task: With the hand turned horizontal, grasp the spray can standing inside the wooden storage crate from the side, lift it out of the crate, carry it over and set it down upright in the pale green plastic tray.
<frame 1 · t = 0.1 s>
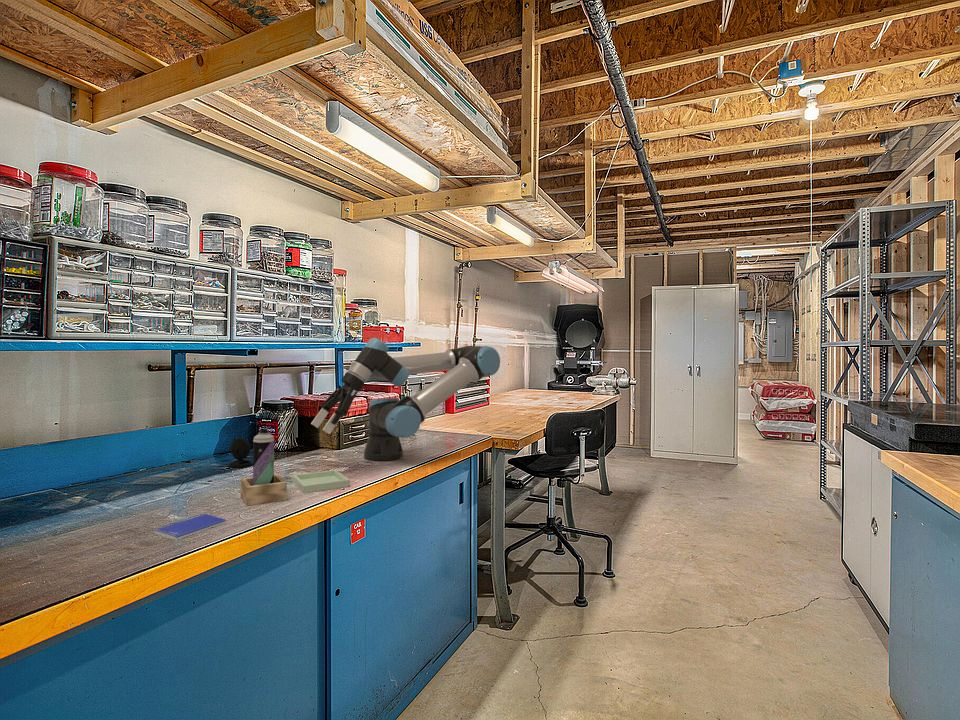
hand: (319, 428, 171), 15 cm above the workbench, tool tilted 35°, fingers open, 13 cm apart
tray: (320, 484, 159), on the workbench
webcam: (240, 466, 179), on the workbench
hard drive: (191, 531, 121), on the workbench
wooden storage crate: (263, 497, 144), on the workbench
spray can: (263, 498, 144), resting in wooden storage crate
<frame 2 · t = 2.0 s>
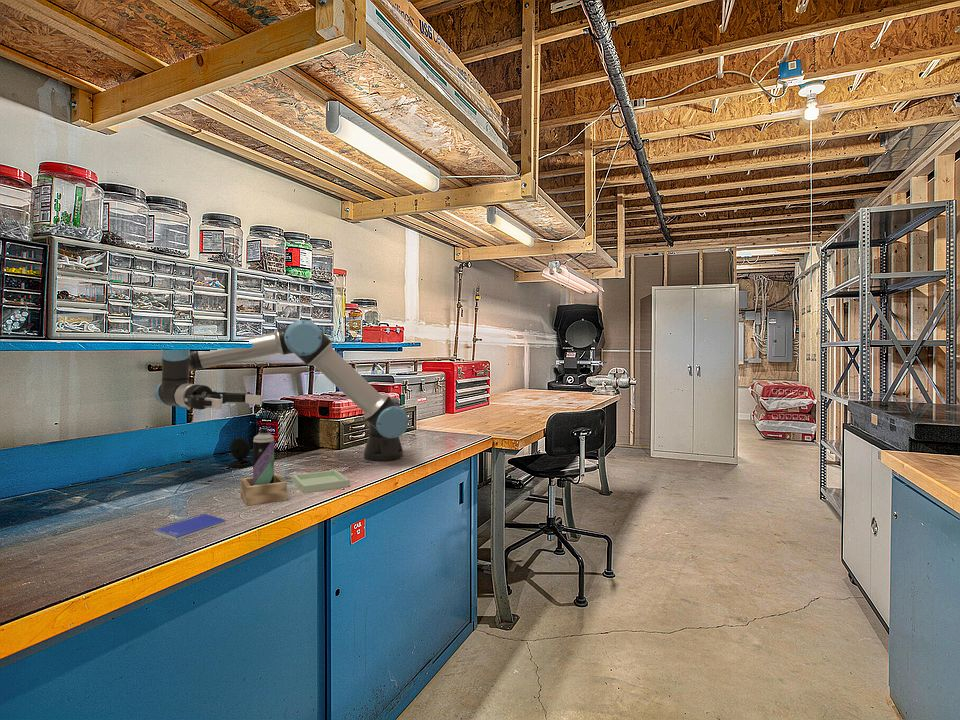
hand: (241, 402, 148), 27 cm above the workbench, tool horizontal, fingers open, 13 cm apart
nothing on the workbench moved.
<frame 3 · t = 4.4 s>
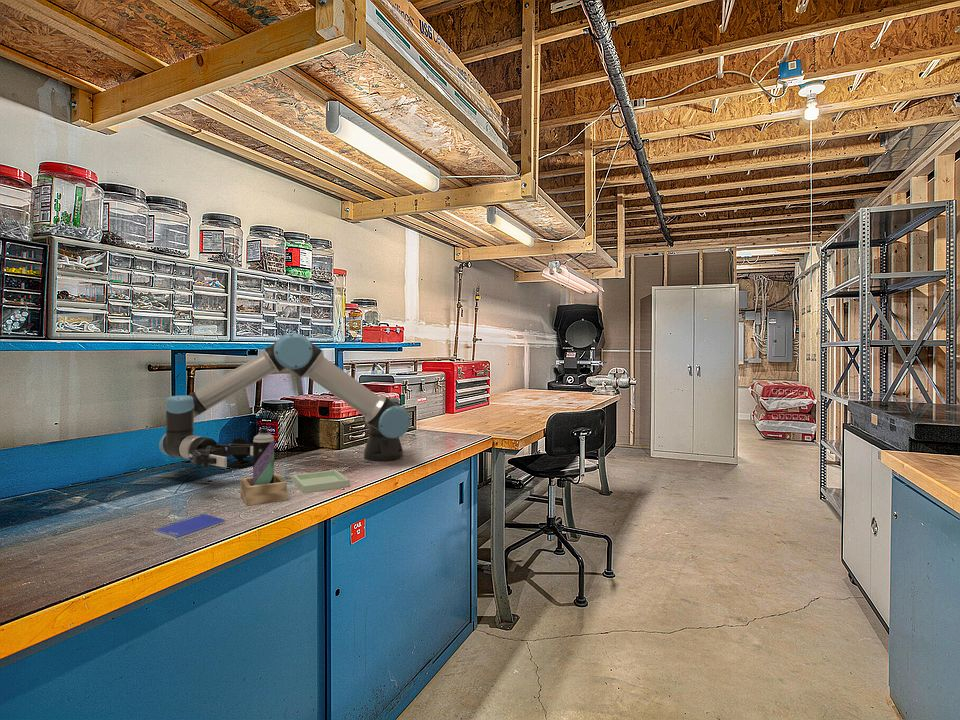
hand: (246, 457, 147), 11 cm above the workbench, tool horizontal, fingers open, 13 cm apart
nothing on the workbench moved.
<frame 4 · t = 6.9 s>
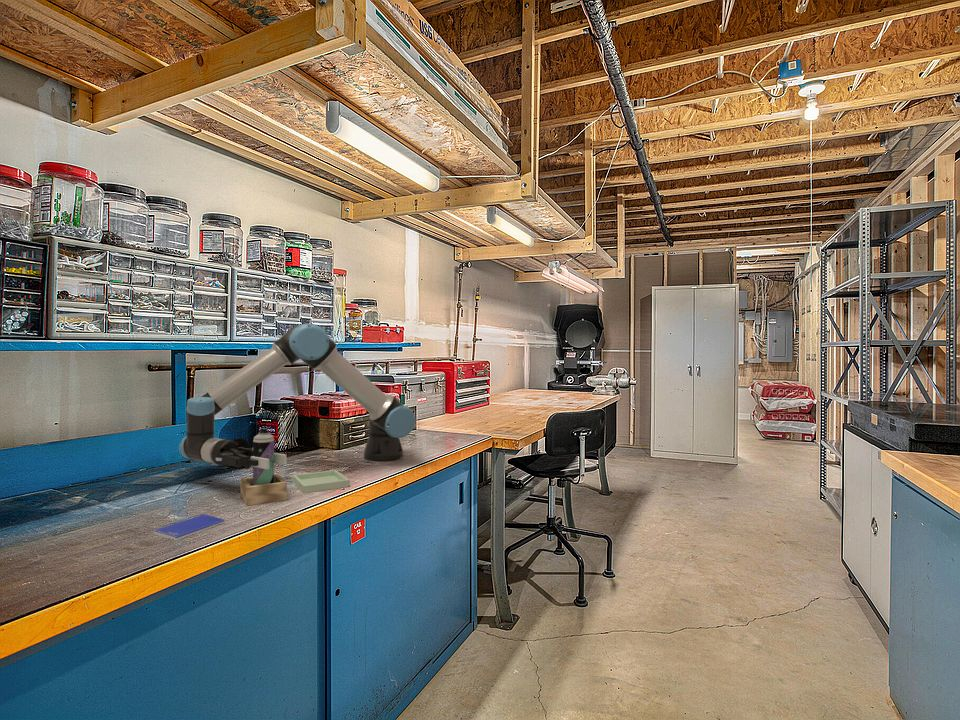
hand: (276, 461, 142), 11 cm above the workbench, tool horizontal, fingers closed on spray can, 5 cm apart
spray can: (263, 498, 144), resting in wooden storage crate, touching gripper
everything else where it was.
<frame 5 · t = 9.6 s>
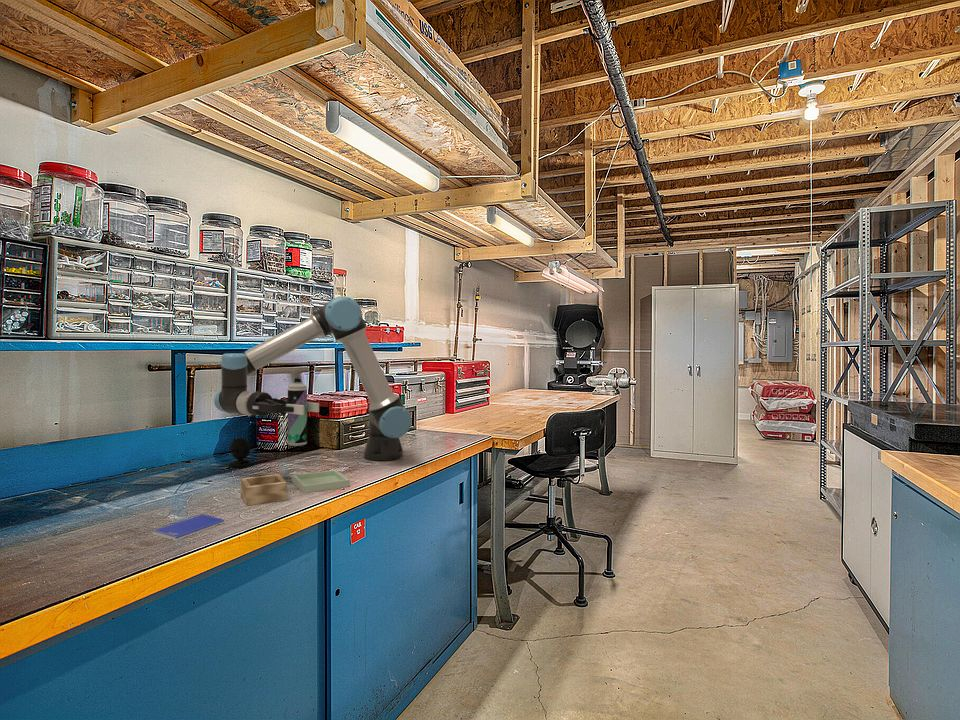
hand: (310, 408, 150), 25 cm above the workbench, tool horizontal, fingers closed on spray can, 5 cm apart
spray can: (297, 444, 153), point 14 cm above the workbench, touching gripper
everything else where it was.
when the fingers open (13 cm above the workbench, at t = 12.7 s): spray can drops 1 cm, resting on tray.
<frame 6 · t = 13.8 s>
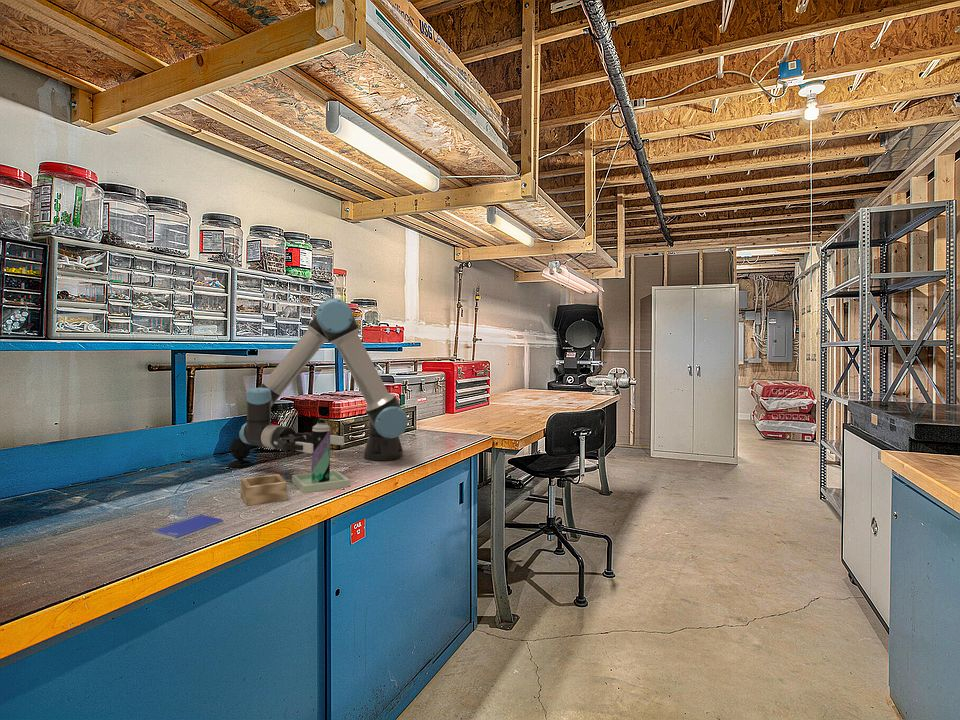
hand: (328, 444, 158), 13 cm above the workbench, tool horizontal, fingers open, 13 cm apart
spray can: (320, 482, 159), resting on tray
everything else where it was.
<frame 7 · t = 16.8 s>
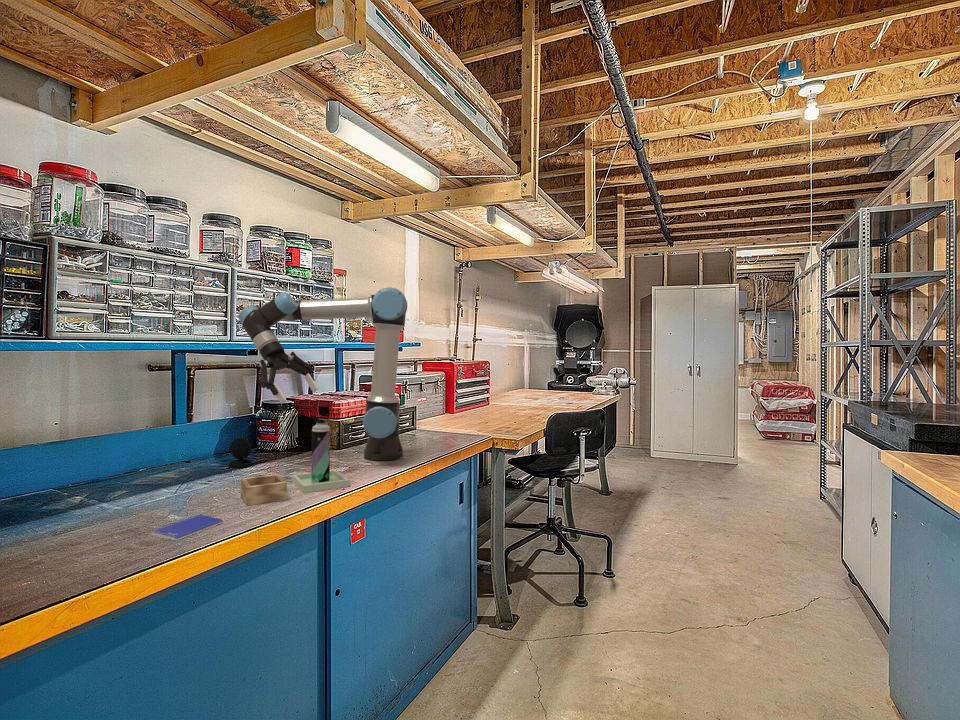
hand: (300, 395, 175), 26 cm above the workbench, tool tilted 40°, fingers open, 13 cm apart
nothing on the workbench moved.
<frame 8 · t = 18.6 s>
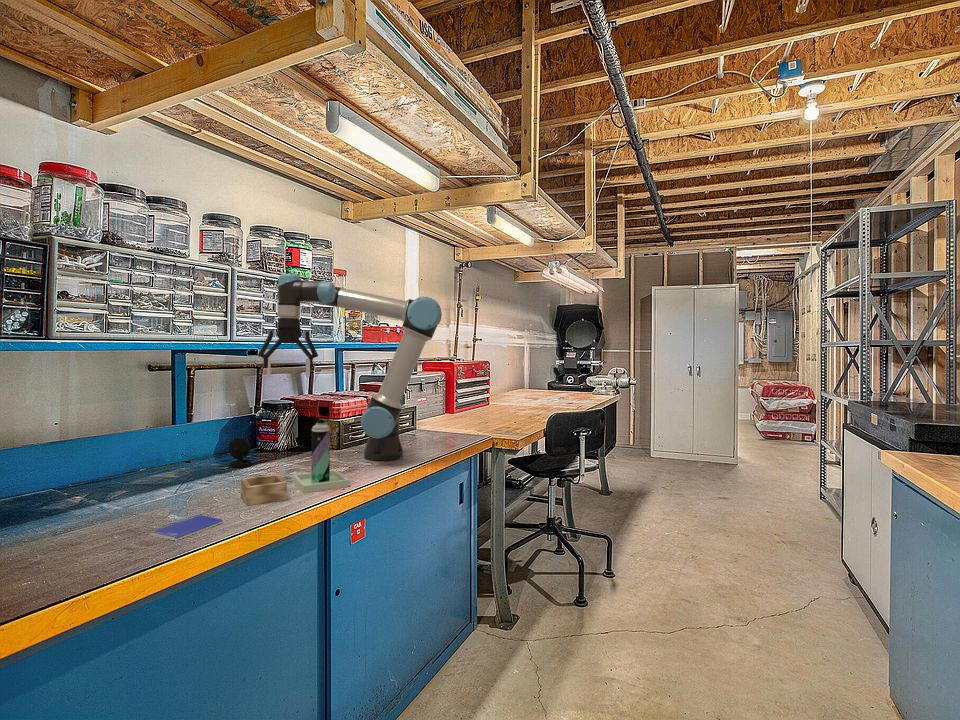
hand: (288, 376, 182), 32 cm above the workbench, tool pointing down, fingers open, 13 cm apart
nothing on the workbench moved.
at the end: spray can inside the target area on the tray (0.1 cm from its centre), point 0.4 cm above the tray's base; spray can tilted 0°; the gripper is holding nothing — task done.
